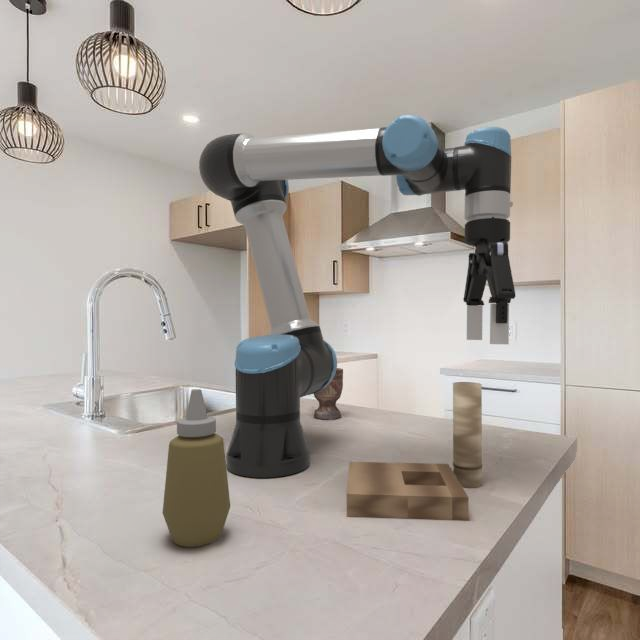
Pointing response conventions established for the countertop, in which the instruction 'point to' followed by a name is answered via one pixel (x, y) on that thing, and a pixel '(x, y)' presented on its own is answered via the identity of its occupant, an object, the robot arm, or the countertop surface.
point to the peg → (467, 433)
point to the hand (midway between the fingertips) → (485, 342)
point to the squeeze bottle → (196, 479)
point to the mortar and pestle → (330, 398)
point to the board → (405, 491)
